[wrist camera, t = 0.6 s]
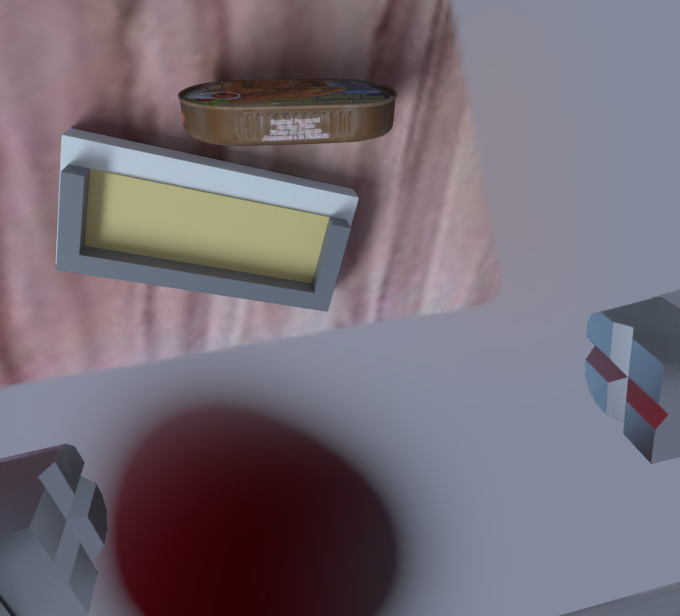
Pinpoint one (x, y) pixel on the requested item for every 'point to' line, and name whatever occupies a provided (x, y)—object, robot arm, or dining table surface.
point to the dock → (198, 222)
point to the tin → (287, 111)
